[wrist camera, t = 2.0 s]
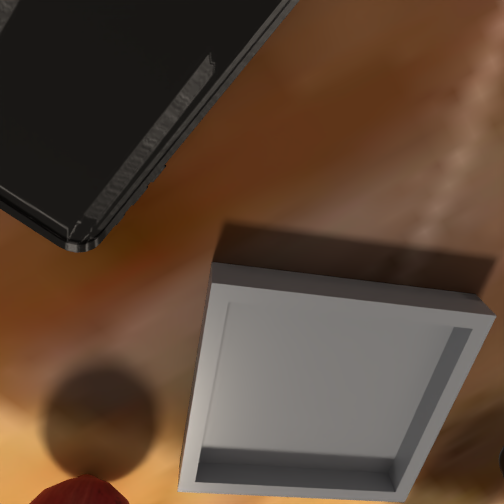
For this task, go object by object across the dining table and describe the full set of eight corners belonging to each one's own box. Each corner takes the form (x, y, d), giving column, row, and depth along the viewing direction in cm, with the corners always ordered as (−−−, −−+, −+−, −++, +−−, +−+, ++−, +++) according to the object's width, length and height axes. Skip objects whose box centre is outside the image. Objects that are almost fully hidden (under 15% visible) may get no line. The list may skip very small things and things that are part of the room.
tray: (179, 461, 25) (177, 491, 24) (211, 261, 20) (211, 282, 18) (393, 474, 27) (404, 502, 26) (475, 294, 22) (496, 315, 20)
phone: (-111, 136, 16) (148, -315, 12) (-91, 130, 17) (153, -288, 13) (86, 264, 19) (355, -62, 14) (93, 252, 20) (346, -57, 15)
